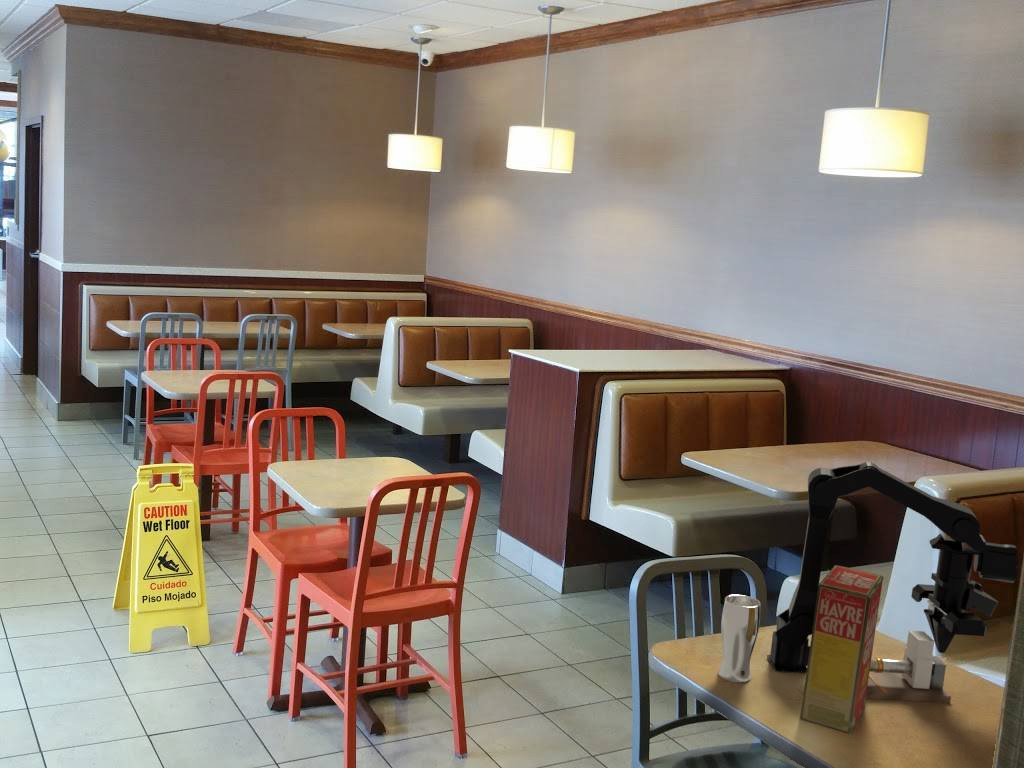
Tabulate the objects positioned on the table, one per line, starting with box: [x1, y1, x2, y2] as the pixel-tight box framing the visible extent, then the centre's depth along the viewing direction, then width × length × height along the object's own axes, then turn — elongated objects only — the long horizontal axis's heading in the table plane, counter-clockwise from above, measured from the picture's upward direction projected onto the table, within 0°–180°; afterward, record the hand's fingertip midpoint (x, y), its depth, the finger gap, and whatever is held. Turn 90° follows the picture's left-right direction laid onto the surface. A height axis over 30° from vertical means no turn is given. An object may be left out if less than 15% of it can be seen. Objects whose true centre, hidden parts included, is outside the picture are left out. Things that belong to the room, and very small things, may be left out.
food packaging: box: [799, 564, 885, 735], centre depth 181 cm, size 13×9×25 cm
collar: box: [901, 630, 935, 689], centre depth 194 cm, size 3×6×9 cm, turn 2°
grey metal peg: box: [869, 655, 947, 690], centre depth 194 cm, size 17×4×5 cm, turn 92°
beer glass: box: [717, 594, 761, 684], centre depth 194 cm, size 7×7×15 cm
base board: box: [866, 672, 952, 703], centre depth 195 cm, size 18×9×1 cm, turn 92°
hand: (941, 652), depth 194 cm, fingers closed
